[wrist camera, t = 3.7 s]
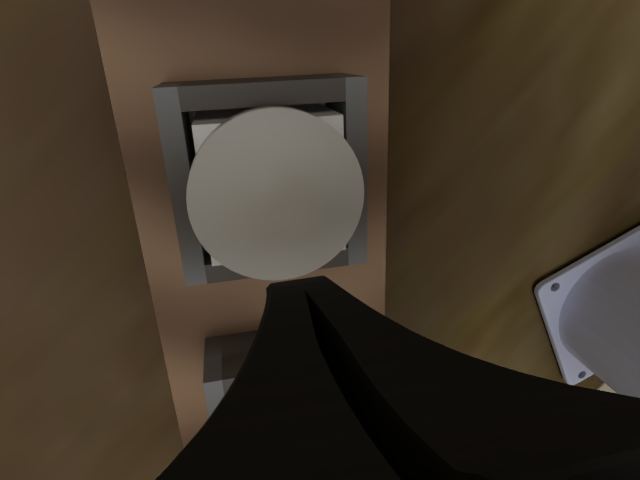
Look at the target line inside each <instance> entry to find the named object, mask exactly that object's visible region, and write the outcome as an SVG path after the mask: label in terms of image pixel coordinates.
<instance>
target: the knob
mask: <svg viewBox="0 0 640 480" xmlns="http://www.w3.org/2000/svg"><path fill="white" fill-rule="evenodd" d="M192 132H193V139H194V146H195V152H196V155H195V157H194V160H193V163H192V166H191V169H190V173H189V178H188V183H187V191H186V202H187V211H188V216H189V220H190V223H191V226H192V228H193V231H194V233H195V235H196V236H197V238H198V240H199V242H200V243H201V244H202V246H203V247H204V248H205V250H206V251H207V252H208V253H209V254H210V255H211V262H212V266H219V265H223V266H225V267H226V268H228V269H230V270H231V271H234V272H236V273H238V274H240V275H243V276H247V277H250V278H254V279H260V280H274V281H275V280H286V279H291V278H296V277H299V276H303V275H306V274H308V273H310V272H312V271H315V270H317V269H318V268H320V267H322V266H323V265H325V264H326V263H328V262H329V261H330V260H332V259H333V258H334V257H335V256H336V255H337V254H338V253H339V252H340V251H341V250H346V244H347V243H348V241H349V240H350V238H351V237H352V235H353V233H354V231H355V229H356V227H357V225H358V223H359V220H360V217H361V214H362V209H363V203H364V181H363V176H362V171H361V168H360V165H359V162H358V160H357V158H356V156H355V154H354V152H353V150H352V148H351V147H350V146H349V144H348V143H347V141H346V140H345V139H344V124H343V115H342V114H340V113H338V112H336V111H334V110H332V109H330V108H328V107H326V106H323V105H321V104H303V105H287V106H262V107H256V108H240V109H225V110H209V111H196V114H195V117H194V120H193V123H192Z"/></svg>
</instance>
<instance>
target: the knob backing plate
mask: <svg viewBox="0 0 640 480" xmlns="http://www.w3.org/2000/svg"><path fill="white" fill-rule="evenodd" d="M390 3H391V0H90V4H91V9H92V14H93V19H94V23H95V28H96V33H97V38H98V42H99V47H100V52H101V57H102V62H103V66H104V71H105V76H106V81H107V85H108V90H109V95H110V100H111V105H112V109H113V114H114V119H115V124H116V128H117V133H118V138H119V143H120V148H121V152H122V157H123V162H124V167H125V171H126V176H127V181H128V186H129V191H130V195H131V200H132V205H133V210H134V214H135V219H136V224H137V229H138V234H139V238H140V243H141V248H142V253H143V257H144V262H145V267H146V272H147V277H148V281H149V286H150V291H151V296H152V300H153V305H154V310H155V315H156V320H157V324H158V329H159V334H160V339H161V343H162V348H163V353H164V358H165V363H166V367H167V372H168V377H169V382H170V386H171V391H172V396H173V401H174V406H175V410H176V415H177V420H178V425H179V429H180V434H181V439H182V444H183V449H184V448H185V446H186V445H187V444H188V443H189V442H190V441H191V439H192V438H193V437H194V436H195V435H196V434H197V432H198V431H199V430H200V429H201V427H202V426H203V425H204V424H205V422H206V421H207V420H208V418H209V417H210V416H211V414H212V413H213V411H214V410H215V408H216V407H217V405H218V404H219V403H220V401H221V400H222V398H223V397H224V395H225V394H226V392H227V391H228V389H229V387H230V386H231V384H232V382H233V381H234V379H235V377H236V376H237V374H238V372H239V370H240V368H241V366H242V365H243V363H244V361H245V359H246V357H247V354H248V352H249V350H250V347H251V345H252V343H253V341H254V338H255V336H256V333H257V331H258V328H259V325H260V322H261V318H262V315H263V312H264V308H265V303H266V296H267V294H266V288H267V287H268V286H269V284H270V283H275V282H282V281H289V280H296V279H302V278H309V277H316V276H323V275H324V276H326V277H327V278H329V279H330V280H332V281H333V282H334V283H336V284H337V285H339V286H340V287H341V288H343V289H344V290H346V291H347V292H348V293H350V294H351V295H353V296H354V297H356V298H357V299H359V300H360V301H362V302H363V303H365V304H366V305H368V306H369V307H371V308H372V309H374V310H376V311H377V312H379V313H381V314H382V315H384V316H385V276H386V222H387V167H388V113H389V58H390ZM303 104H321V105H323V106H326V107H328V108H330V109H332V110H334V111H336V112H338V113H340V114H342V115H343V124H344V139H345V140H346V141H347V143H348V144H349V146H350V147H351V148H352V150H353V152H354V154H355V156H356V158H357V160H358V162H359V165H360V168H361V171H362V176H363V181H364V203H363V209H362V214H361V217H360V220H359V223H358V225H357V227H356V229H355V231H354V233H353V235H352V237H351V238H350V240H349V241H348V243H347V244H346V250H341V251H340V252H339V253H338V254H337V255H336V256H335V257H334V258H333V259H332V260H330V261H329V262H328V263H326V264H325V265H323V266H322V267H320V268H318V269H317V270H315V271H312V272H310V273H308V274H306V275H303V276H299V277H296V278H291V279H286V280H275V281H274V280H260V279H254V278H250V277H247V276H243V275H240V274H238V273H236V272H234V271H231V270H230V269H228V268H226V267H225V266H223V265H219V266H212V262H211V255H210V254H209V253H208V252H207V251H206V250H205V248H204V247H203V246H202V244H201V243H200V242H199V240H198V238H197V236H196V235H195V233H194V231H193V228H192V226H191V223H190V220H189V216H188V211H187V202H186V191H187V183H188V178H189V173H190V169H191V166H192V163H193V160H194V157H195V155H196V152H195V146H194V139H193V132H192V123H193V120H194V117H195V114H196V111H209V110H225V109H240V108H256V107H262V106H287V105H303Z"/></svg>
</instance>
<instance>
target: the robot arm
mask: <svg viewBox="0 0 640 480" xmlns="http://www.w3.org/2000/svg"><path fill="white" fill-rule="evenodd" d="M554 283H555V284H554ZM553 284H554V285H553ZM552 285H553V286H552ZM551 286H552V287H551ZM534 293H535V296H536V299H537V302H538V305H539V308H540V311H541V314H542V317H543V320H544V323H545V326H546V329H547V332H548V335H549V338H550V341H551V344H552V347H553V350H554V353H555V356H556V359H557V362H558V365H559V368H560V371H561V374H562V376H563V379H564V381H565V382H566V383H567V384H564V383H560V382H556V381H552V380H548V379H544V378H540V377H536V376H532V375H528V374H525V373H521V372H518V371H515V370H511V369H508V368H504V367H501V366H498V365H495V364H492V363H489V362H486V361H483V360H480V359H477V358H474V357H471V356H469V355H466V354H463V353H461V352H458V351H455V350H453V349H450V348H448V347H446V346H444V345H441V344H439V343H437V342H434V341H432V340H430V339H428V338H425V337H423V336H421V335H419V334H417V333H415V332H413V331H411V330H409V329H407V328H405V327H404V326H402V325H400V324H398V323H396V322H394V321H393V320H391V319H389V318H387V317H386V316H384V315H382V314H381V313H379V312H377V311H376V310H374V309H372V308H371V307H369V306H368V305H366V304H365V303H363V302H362V301H360V300H359V299H357V298H356V297H354V296H353V295H351V294H350V293H348V292H347V291H346V290H344V289H343V288H341V287H340V286H339V285H337V284H336V283H334V282H333V281H332V280H330V279H329V278H327V277H326V276H324V275H323V276H316V277H309V278H302V279H296V280H289V281H282V282H275V283H270V284H269V286H268V287H267V288H266V294H267V296H266V303H265V308H264V312H263V315H262V318H261V322H260V325H259V328H258V331H257V333H256V336H255V338H254V341H253V343H252V345H251V347H250V350H249V352H248V354H247V357H246V359H245V361H244V363H243V365H242V366H241V368H240V370H239V372H238V374H237V376H236V377H235V379H234V381H233V382H232V384H231V386H230V387H229V389H228V391H227V392H226V394H225V395H224V397H223V398H222V400H221V401H220V403H219V404H218V405H217V407H216V408H215V410H214V411H213V413H212V414H211V416H210V417H209V418H208V420H207V421H206V422H205V424H204V425H203V426H202V427H201V429H200V430H199V431H198V432H197V434H196V435H195V436H194V437H193V438H192V439H191V441H190V442H189V443H188V444H187V445H186V446H185V448H184V449H183V450H182V451H181V452H180V453H179V454H178V456H177V457H176V458H175V459H174V460H173V461H172V463H171V464H170V465H169V466H168V467H167V468H166V469H165V470H164V471H163V472H162V473H161V475H160V476H158V477H157V478H156V479H155V480H640V226H638V227H636V228H634V229H633V230H631V231H629V232H627V233H626V234H624V235H622V236H620V237H618V238H617V239H615V240H613V241H611V242H610V243H608V244H606V245H604V246H603V247H601V248H599V249H597V250H596V251H594V252H592V253H590V254H588V255H587V256H585V257H583V258H581V259H580V260H578V261H576V262H574V263H573V264H571V265H569V266H567V267H566V268H564V269H562V270H560V271H559V272H557V273H555V274H553V275H551V276H550V277H548V278H546V279H544V280H543V281H541V282H539V283H538V284H537V285H536V287H535V290H534ZM593 374H595V375H596V376H597V377H599V378H600V379H601V380H602V381H603V382H604V383H606V384H607V385H608V386H609V387H610V388H612V389H613V390H614V391H615V392H616V393H617V394H616V393H610V392H605V391H600V390H594V389H589V388H584V387H578V386H573V385H575V384H577V383H579V382H581V381H582V380H584V379H586V378H588V377H590V376H591V375H593Z"/></svg>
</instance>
